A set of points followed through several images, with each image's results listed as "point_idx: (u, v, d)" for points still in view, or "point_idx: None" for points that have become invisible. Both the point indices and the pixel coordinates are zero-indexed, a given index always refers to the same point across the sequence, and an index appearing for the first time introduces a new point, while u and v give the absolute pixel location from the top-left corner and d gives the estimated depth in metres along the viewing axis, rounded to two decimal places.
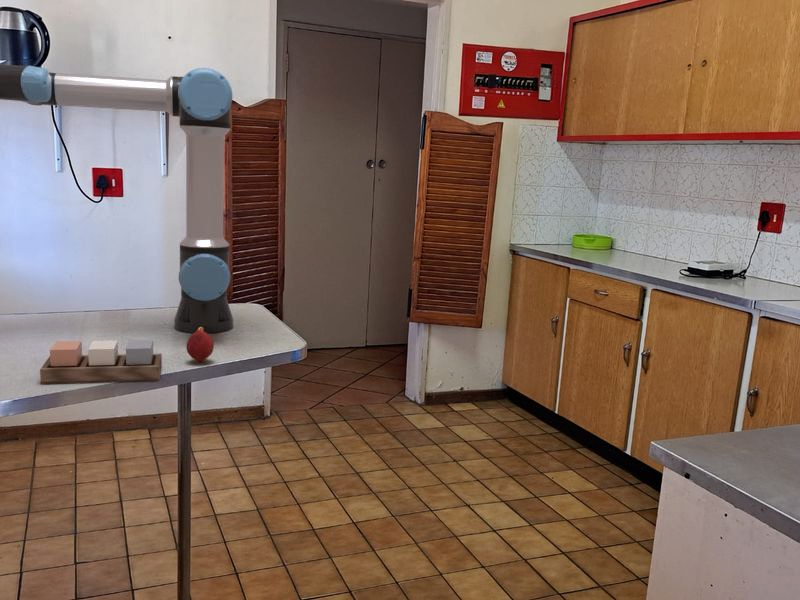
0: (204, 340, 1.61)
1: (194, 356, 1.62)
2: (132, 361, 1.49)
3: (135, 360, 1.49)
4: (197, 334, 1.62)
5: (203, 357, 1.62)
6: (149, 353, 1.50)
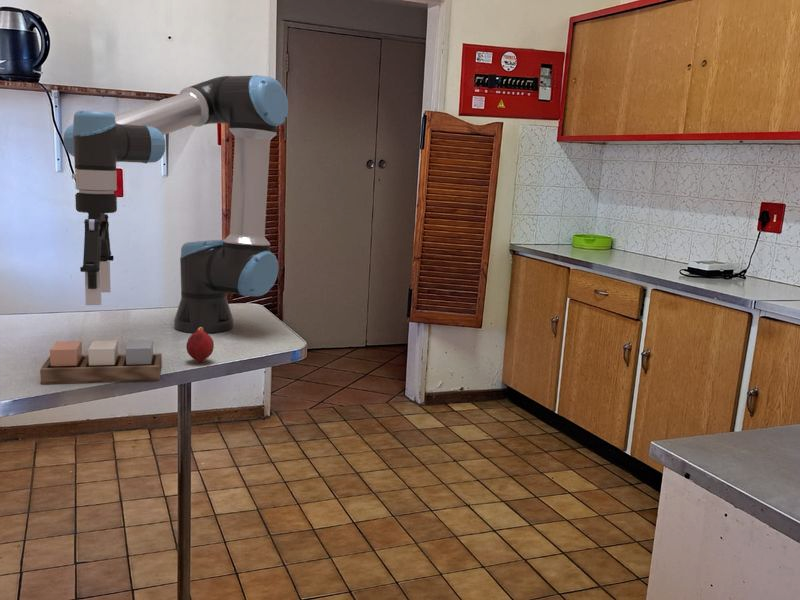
0: (204, 340, 1.61)
1: (194, 356, 1.62)
2: (132, 361, 1.49)
3: (135, 360, 1.49)
4: (197, 334, 1.62)
5: (203, 357, 1.62)
6: (149, 353, 1.50)
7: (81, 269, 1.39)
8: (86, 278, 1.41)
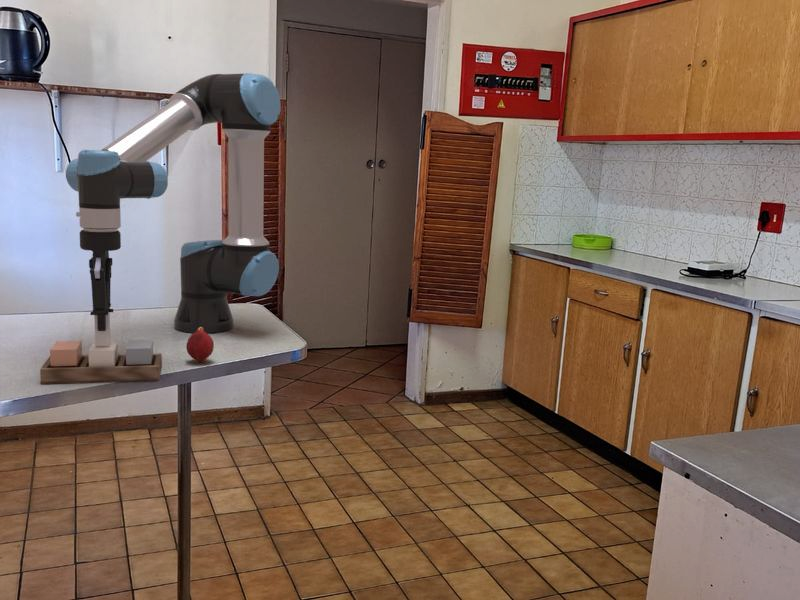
0: (204, 340, 1.61)
1: (194, 356, 1.62)
2: (132, 361, 1.49)
3: (135, 360, 1.49)
4: (197, 334, 1.62)
5: (203, 357, 1.62)
6: (149, 353, 1.50)
7: (91, 314, 1.47)
8: (95, 321, 1.48)
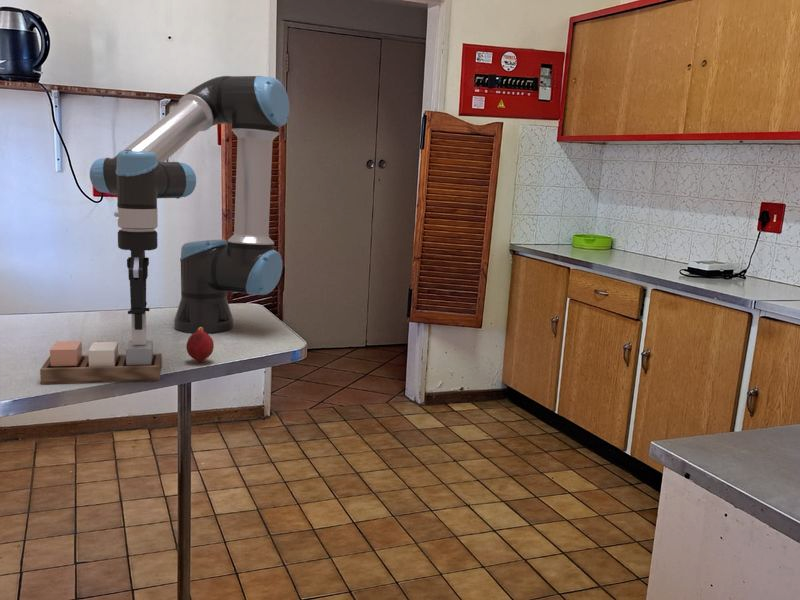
0: (204, 340, 1.61)
1: (194, 356, 1.62)
2: (132, 362, 1.49)
3: (135, 360, 1.49)
4: (197, 334, 1.62)
5: (203, 357, 1.62)
6: (149, 353, 1.50)
7: (128, 313, 1.49)
8: (132, 319, 1.50)
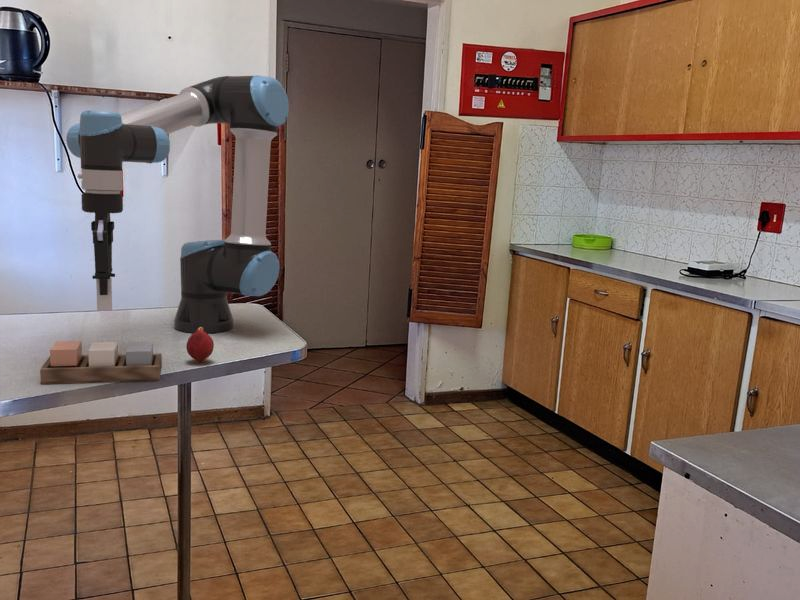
0: (204, 340, 1.61)
1: (194, 356, 1.62)
2: (132, 364, 1.49)
3: (135, 362, 1.49)
4: (197, 334, 1.62)
5: (203, 357, 1.62)
6: (149, 356, 1.50)
7: (93, 278, 1.46)
8: (97, 285, 1.47)
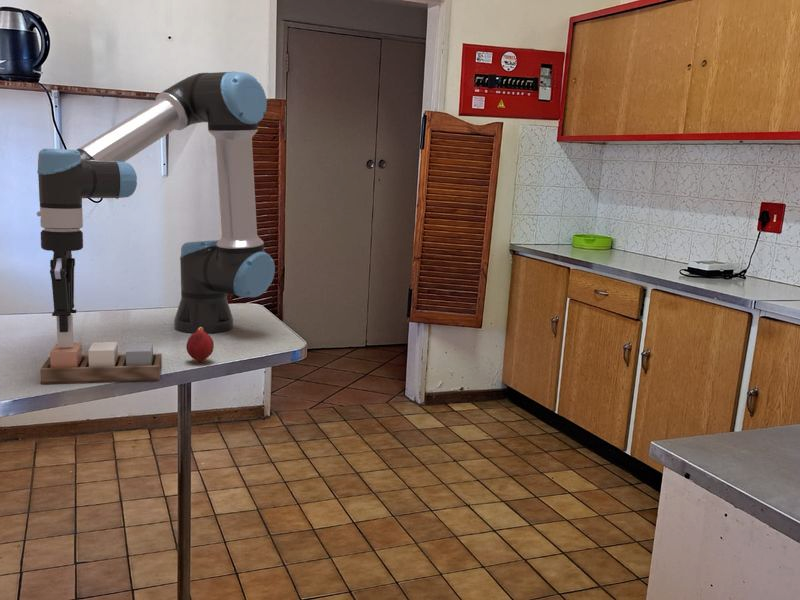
0: (204, 340, 1.61)
1: (194, 356, 1.62)
2: (132, 364, 1.49)
3: (135, 362, 1.49)
4: (197, 334, 1.62)
5: (203, 357, 1.62)
6: (149, 356, 1.50)
7: (53, 315, 1.45)
8: (58, 322, 1.47)
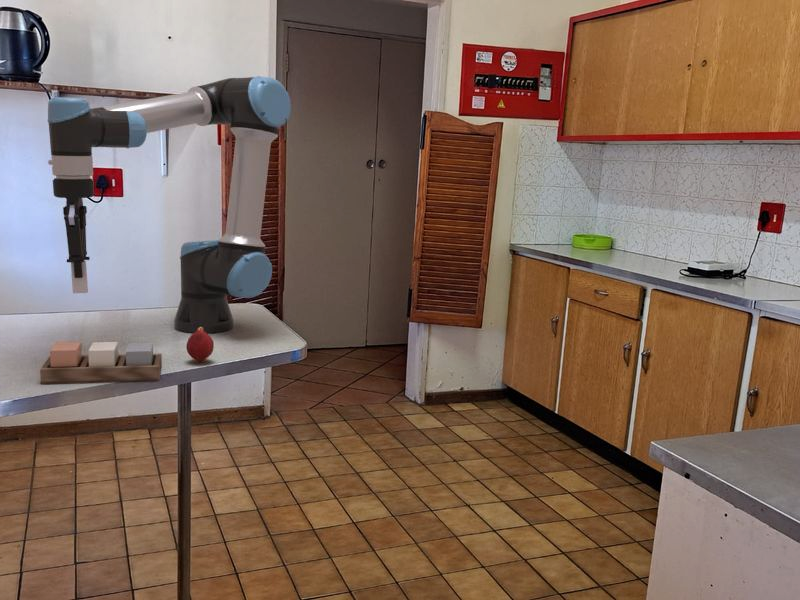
0: (204, 340, 1.61)
1: (194, 356, 1.62)
2: (132, 364, 1.49)
3: (135, 362, 1.49)
4: (197, 334, 1.62)
5: (203, 357, 1.62)
6: (149, 356, 1.50)
7: (67, 261, 1.50)
8: (72, 268, 1.51)
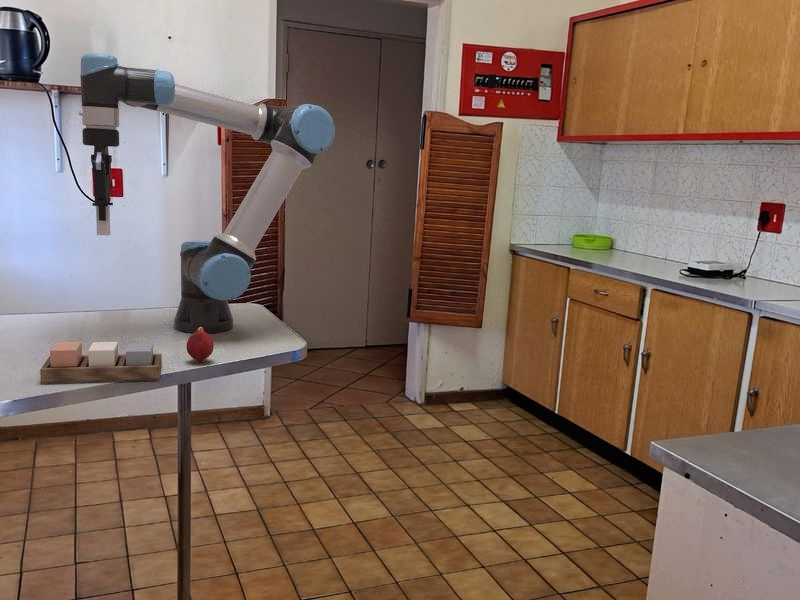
0: (204, 340, 1.61)
1: (194, 356, 1.62)
2: (132, 364, 1.49)
3: (135, 362, 1.49)
4: (197, 334, 1.62)
5: (203, 357, 1.62)
6: (149, 356, 1.50)
7: (93, 205, 1.64)
8: (97, 211, 1.65)
